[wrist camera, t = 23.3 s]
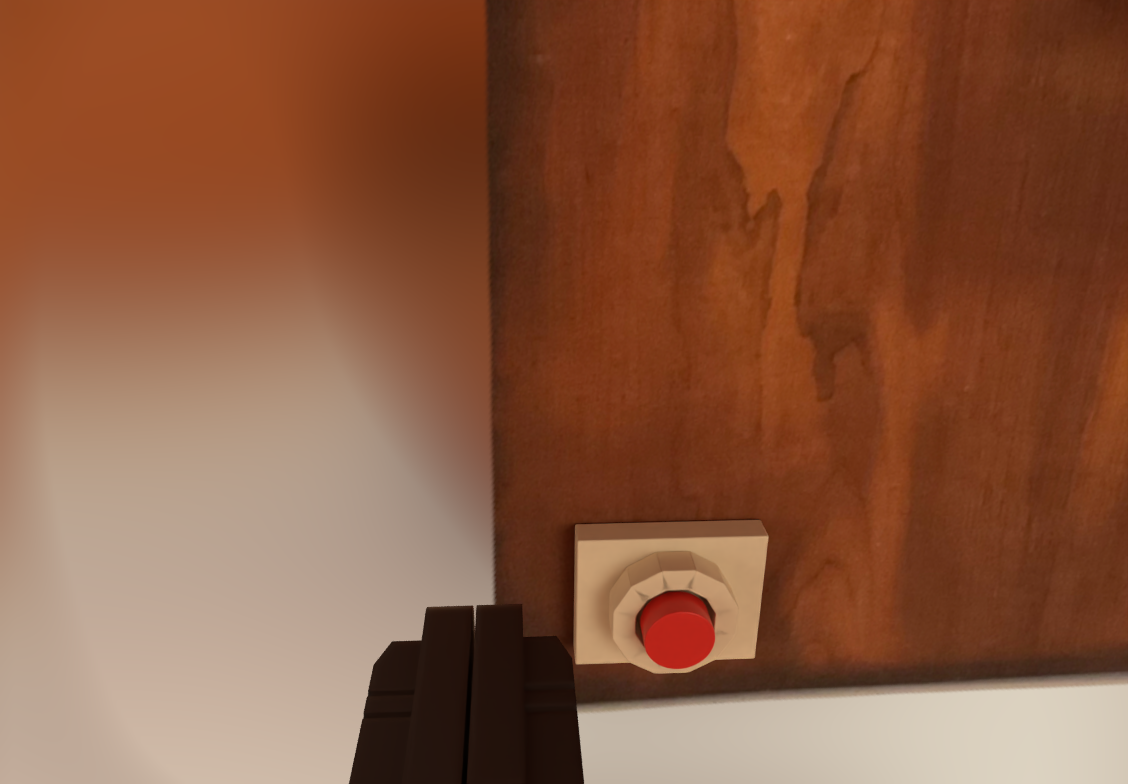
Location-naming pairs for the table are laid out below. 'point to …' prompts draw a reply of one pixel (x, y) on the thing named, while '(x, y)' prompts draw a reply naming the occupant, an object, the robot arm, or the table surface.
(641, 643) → the button box
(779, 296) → the table surface
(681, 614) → the red button
